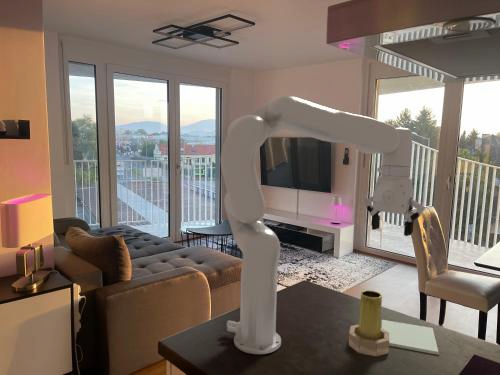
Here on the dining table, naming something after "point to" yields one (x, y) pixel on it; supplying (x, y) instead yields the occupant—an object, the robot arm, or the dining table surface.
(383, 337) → the ring
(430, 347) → the mat
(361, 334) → the vase
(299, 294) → the dining table surface
